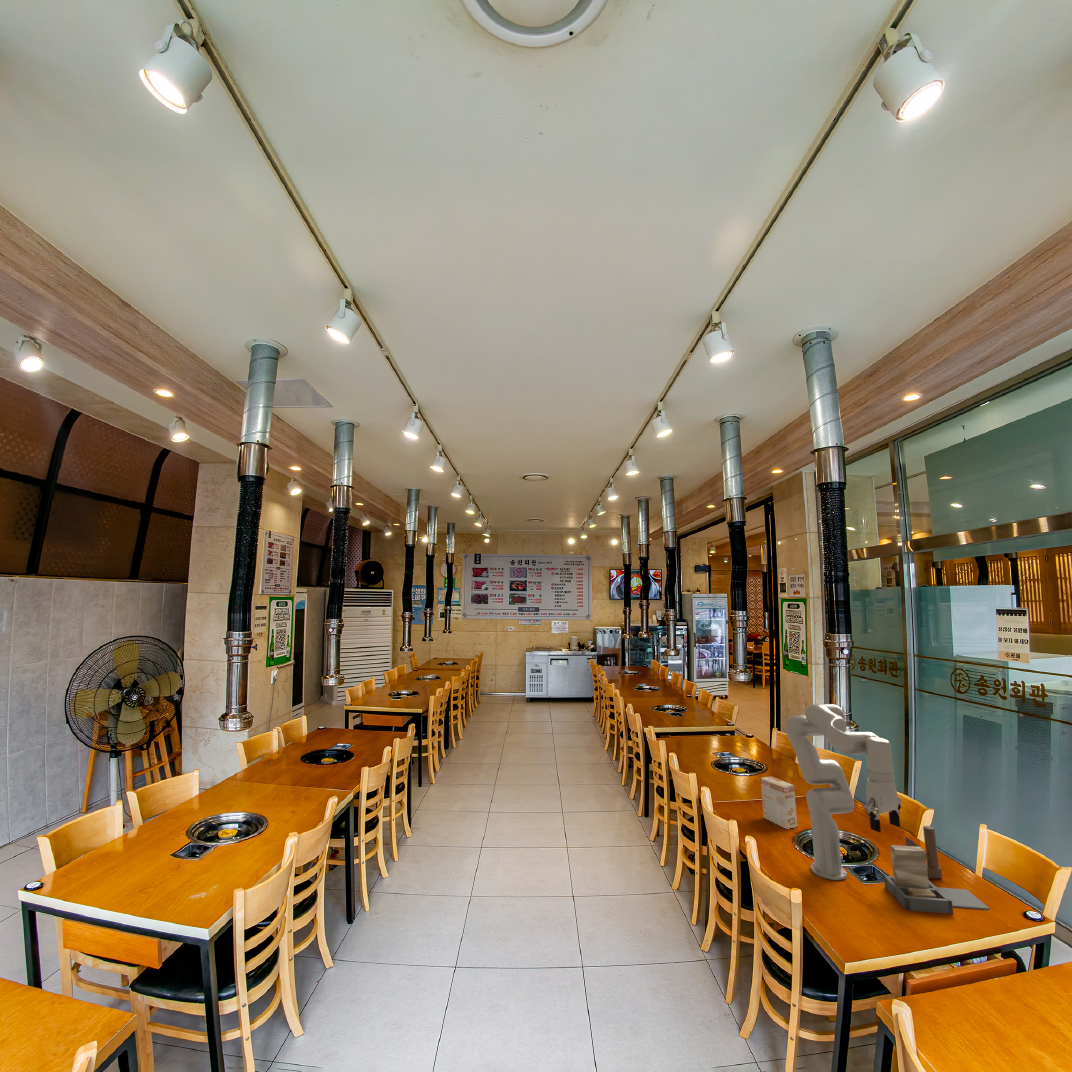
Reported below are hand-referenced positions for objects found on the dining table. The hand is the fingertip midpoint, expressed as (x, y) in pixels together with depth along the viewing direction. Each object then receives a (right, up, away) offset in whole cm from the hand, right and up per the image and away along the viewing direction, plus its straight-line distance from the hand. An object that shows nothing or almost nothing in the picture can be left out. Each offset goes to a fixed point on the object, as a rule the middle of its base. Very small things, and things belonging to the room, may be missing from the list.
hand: (885, 828), depth 173 cm
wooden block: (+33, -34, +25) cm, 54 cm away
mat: (+33, -32, +10) cm, 47 cm away
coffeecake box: (+1, -42, +76) cm, 87 cm away
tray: (+18, -32, +10) cm, 38 cm away
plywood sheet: (+19, -32, +13) cm, 40 cm away
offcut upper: (+18, -29, +7) cm, 35 cm away
